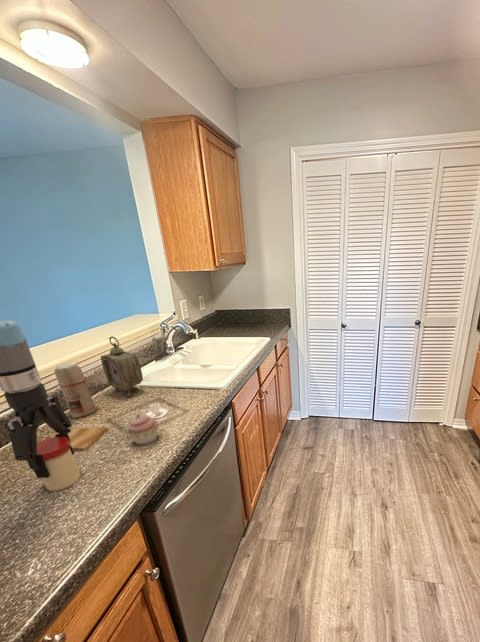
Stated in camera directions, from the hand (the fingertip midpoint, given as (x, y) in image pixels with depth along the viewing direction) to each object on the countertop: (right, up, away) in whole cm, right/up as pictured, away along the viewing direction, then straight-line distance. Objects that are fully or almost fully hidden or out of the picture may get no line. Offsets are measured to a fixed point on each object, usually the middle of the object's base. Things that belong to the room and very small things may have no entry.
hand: (56, 465), depth 85 cm
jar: (0, -5, +2) cm, 5 cm away
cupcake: (+15, +3, +19) cm, 24 cm away
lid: (0, +5, -2) cm, 6 cm away
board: (-10, +3, +21) cm, 23 cm away
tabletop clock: (-10, +18, +55) cm, 59 cm away
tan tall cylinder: (-19, +10, +39) cm, 44 cm away
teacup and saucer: (+8, +9, +34) cm, 36 cm away
